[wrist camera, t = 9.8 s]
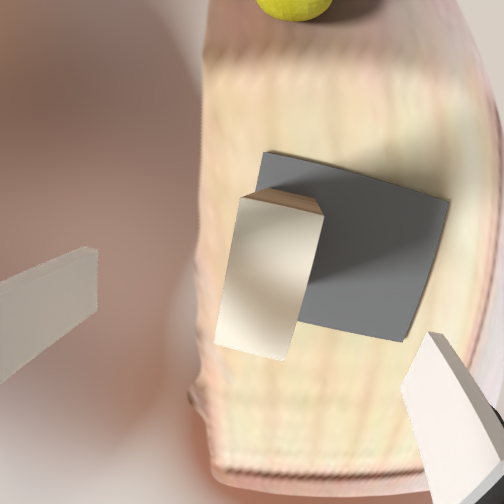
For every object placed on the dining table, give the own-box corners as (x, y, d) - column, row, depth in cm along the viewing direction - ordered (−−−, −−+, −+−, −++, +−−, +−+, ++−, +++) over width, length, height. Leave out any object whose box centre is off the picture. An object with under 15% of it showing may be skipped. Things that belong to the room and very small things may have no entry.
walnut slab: (268, 187, 26) (240, 197, 15) (314, 198, 26) (324, 216, 14) (249, 276, 28) (213, 343, 17) (293, 287, 28) (284, 361, 17)
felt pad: (264, 152, 26) (263, 151, 26) (446, 201, 25) (448, 202, 24) (233, 302, 30) (232, 304, 29) (400, 339, 28) (402, 342, 28)
